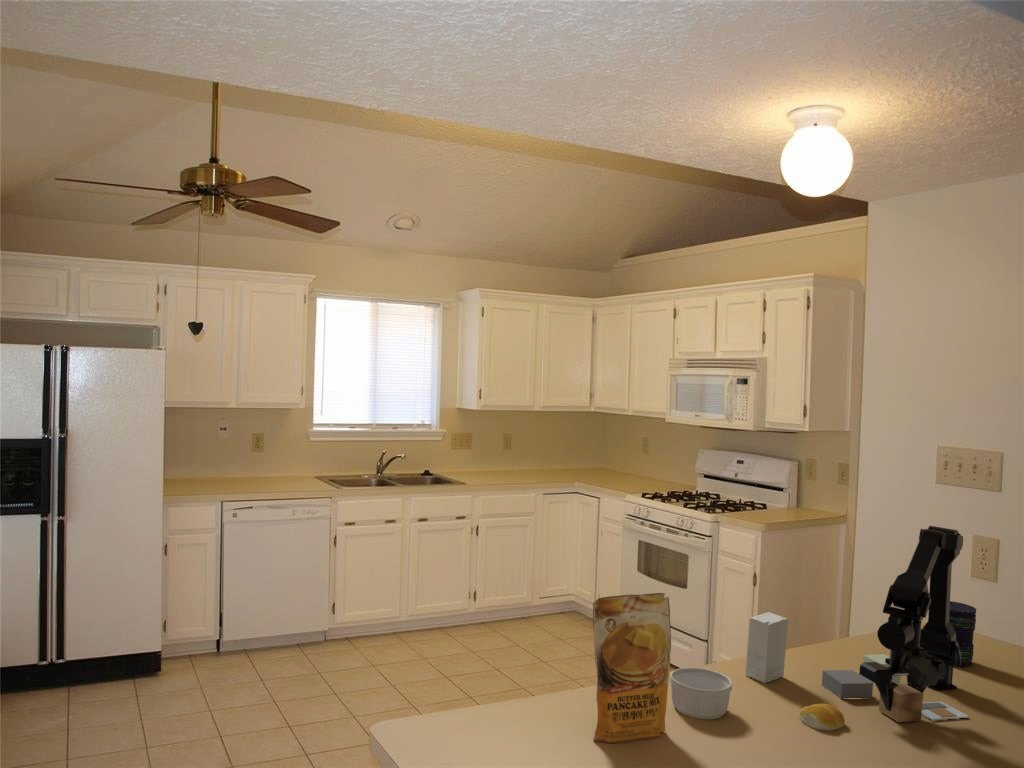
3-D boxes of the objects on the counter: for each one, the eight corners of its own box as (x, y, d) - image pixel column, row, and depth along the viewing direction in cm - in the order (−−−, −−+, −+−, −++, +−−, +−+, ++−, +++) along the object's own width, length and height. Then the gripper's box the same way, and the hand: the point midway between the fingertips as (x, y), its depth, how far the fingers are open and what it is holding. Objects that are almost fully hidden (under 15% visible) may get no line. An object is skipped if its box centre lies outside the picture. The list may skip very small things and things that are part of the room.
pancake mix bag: (577, 731, 165) (586, 593, 164) (659, 722, 172) (668, 589, 171) (592, 747, 159) (601, 603, 158) (677, 736, 166) (686, 599, 165)
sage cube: (882, 677, 206) (883, 654, 206) (899, 687, 200) (901, 663, 200) (861, 679, 204) (863, 655, 204) (878, 688, 199) (880, 664, 199)
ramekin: (656, 707, 180) (658, 676, 179) (688, 692, 189) (690, 662, 189) (710, 728, 171) (713, 695, 170) (741, 711, 180) (743, 680, 180)
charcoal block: (851, 686, 200) (852, 670, 200) (871, 700, 192) (873, 683, 192) (821, 686, 198) (822, 670, 198) (840, 700, 190) (841, 683, 190)
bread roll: (851, 727, 176) (852, 708, 176) (824, 735, 171) (826, 716, 171) (817, 711, 183) (819, 694, 183) (791, 719, 178) (793, 701, 178)
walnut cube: (901, 708, 186) (903, 682, 186) (921, 720, 180) (923, 693, 180) (878, 710, 184) (880, 684, 184) (898, 722, 179) (900, 695, 178)
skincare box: (763, 669, 207) (768, 611, 206) (785, 677, 202) (789, 617, 201) (743, 676, 201) (748, 616, 201) (765, 684, 197) (769, 623, 196)
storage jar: (980, 669, 217) (984, 613, 216) (942, 666, 217) (947, 610, 216) (960, 655, 227) (964, 601, 226) (924, 653, 227) (928, 599, 226)
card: (941, 703, 192) (941, 700, 192) (968, 718, 184) (969, 715, 184) (905, 705, 189) (905, 702, 189) (932, 721, 181) (932, 718, 181)
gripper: (896, 654, 172) (890, 728, 172) (969, 651, 177) (963, 722, 177) (860, 636, 182) (855, 705, 183) (929, 633, 187) (924, 701, 188)
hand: (900, 709), depth 182 cm, fingers closed on walnut cube, 6 cm apart
